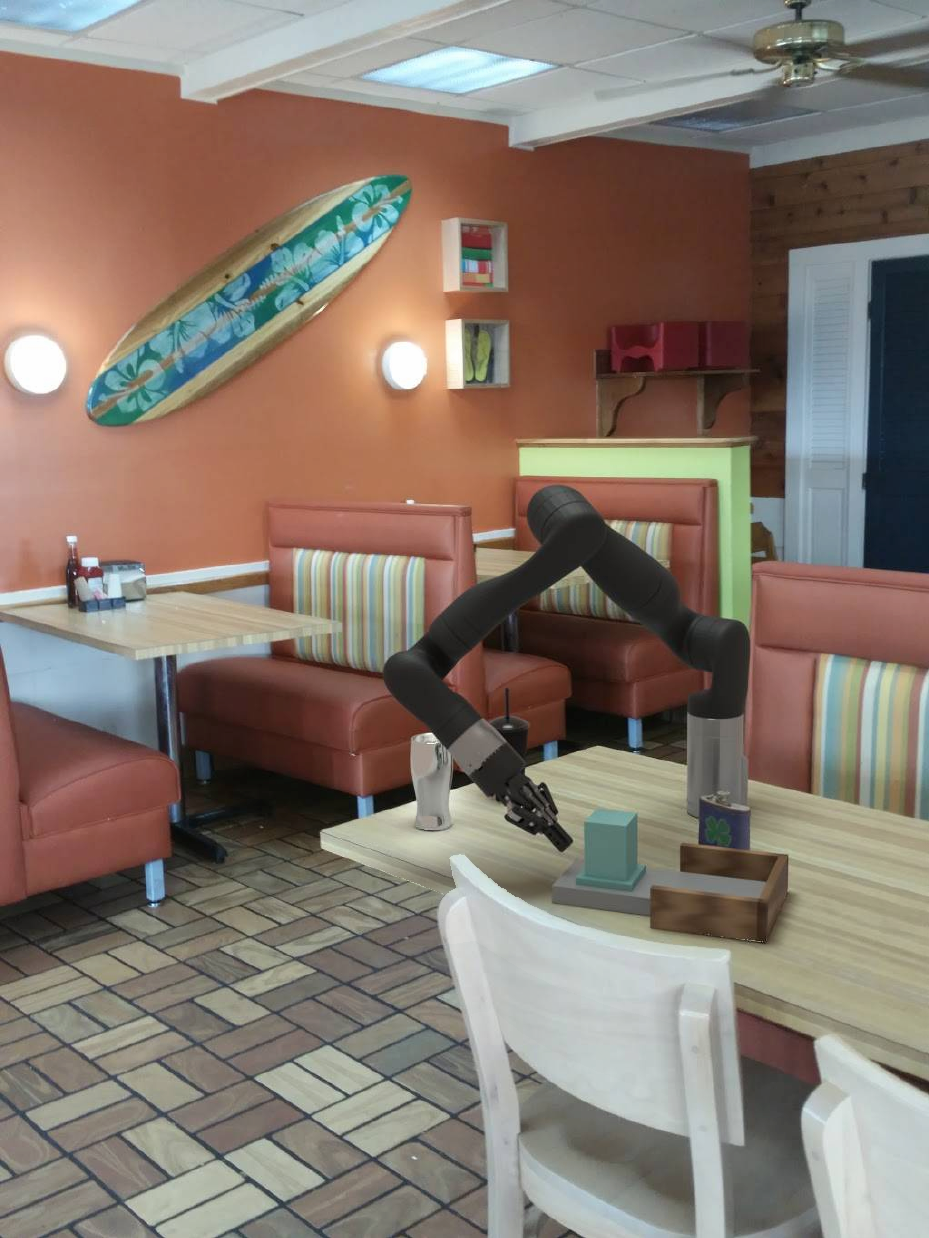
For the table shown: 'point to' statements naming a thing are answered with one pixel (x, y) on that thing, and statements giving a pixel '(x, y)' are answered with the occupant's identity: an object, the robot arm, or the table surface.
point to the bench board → (644, 889)
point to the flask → (723, 822)
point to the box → (723, 910)
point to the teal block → (611, 851)
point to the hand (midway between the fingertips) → (567, 847)
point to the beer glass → (431, 781)
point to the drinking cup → (512, 731)
